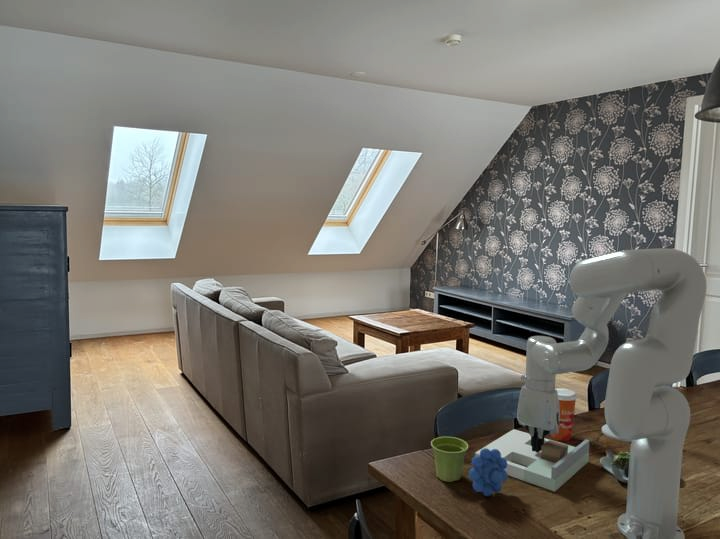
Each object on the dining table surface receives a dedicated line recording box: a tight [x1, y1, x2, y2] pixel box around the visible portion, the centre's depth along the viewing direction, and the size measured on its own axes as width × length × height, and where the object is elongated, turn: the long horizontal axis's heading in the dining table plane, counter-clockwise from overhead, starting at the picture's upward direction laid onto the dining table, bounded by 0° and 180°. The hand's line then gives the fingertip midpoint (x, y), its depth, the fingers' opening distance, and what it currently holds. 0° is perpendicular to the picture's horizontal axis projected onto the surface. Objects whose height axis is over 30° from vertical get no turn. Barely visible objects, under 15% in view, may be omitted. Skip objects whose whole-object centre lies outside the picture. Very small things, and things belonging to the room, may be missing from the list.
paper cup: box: [550, 387, 578, 442], centre depth 167 cm, size 8×8×14 cm
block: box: [541, 439, 569, 463], centre depth 146 cm, size 5×5×4 cm
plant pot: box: [430, 436, 469, 483], centre depth 142 cm, size 9×9×9 cm
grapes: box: [468, 447, 509, 497], centre depth 131 cm, size 12×7×12 cm, turn 120°
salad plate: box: [599, 449, 630, 486], centre depth 146 cm, size 19×18×5 cm
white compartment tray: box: [474, 428, 590, 493], centre depth 150 cm, size 22×22×6 cm
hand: (537, 450), depth 149 cm, fingers closed
